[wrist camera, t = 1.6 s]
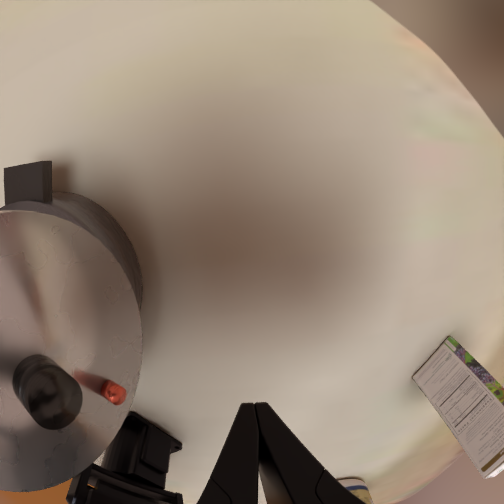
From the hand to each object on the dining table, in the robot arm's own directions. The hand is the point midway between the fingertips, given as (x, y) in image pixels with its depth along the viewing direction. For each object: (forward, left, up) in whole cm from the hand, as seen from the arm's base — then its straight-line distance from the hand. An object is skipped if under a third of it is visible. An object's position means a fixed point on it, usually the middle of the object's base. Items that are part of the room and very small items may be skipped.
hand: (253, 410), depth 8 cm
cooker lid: (-7, +6, -1) cm, 9 cm away
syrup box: (+10, -21, -11) cm, 26 cm away
